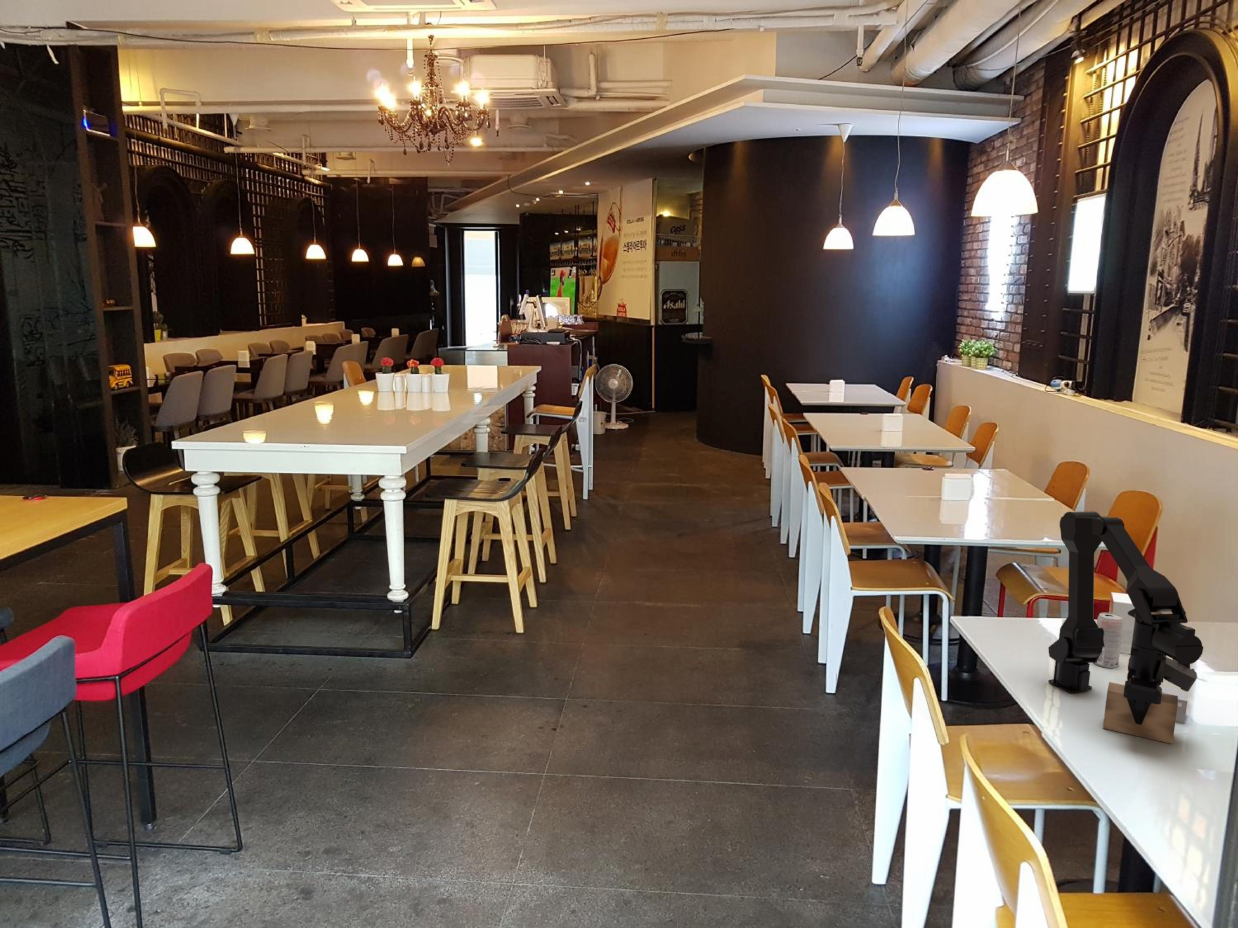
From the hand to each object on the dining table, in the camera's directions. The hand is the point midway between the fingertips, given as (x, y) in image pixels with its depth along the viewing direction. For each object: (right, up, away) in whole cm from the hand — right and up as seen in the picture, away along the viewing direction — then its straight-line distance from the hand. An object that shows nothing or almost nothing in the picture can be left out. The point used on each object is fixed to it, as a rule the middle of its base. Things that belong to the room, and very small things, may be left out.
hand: (1139, 718), depth 180 cm
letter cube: (+11, -2, +8) cm, 13 cm away
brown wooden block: (0, -3, 0) cm, 3 cm away
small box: (+21, +5, +45) cm, 50 cm away
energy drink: (+12, +3, +35) cm, 37 cm away
